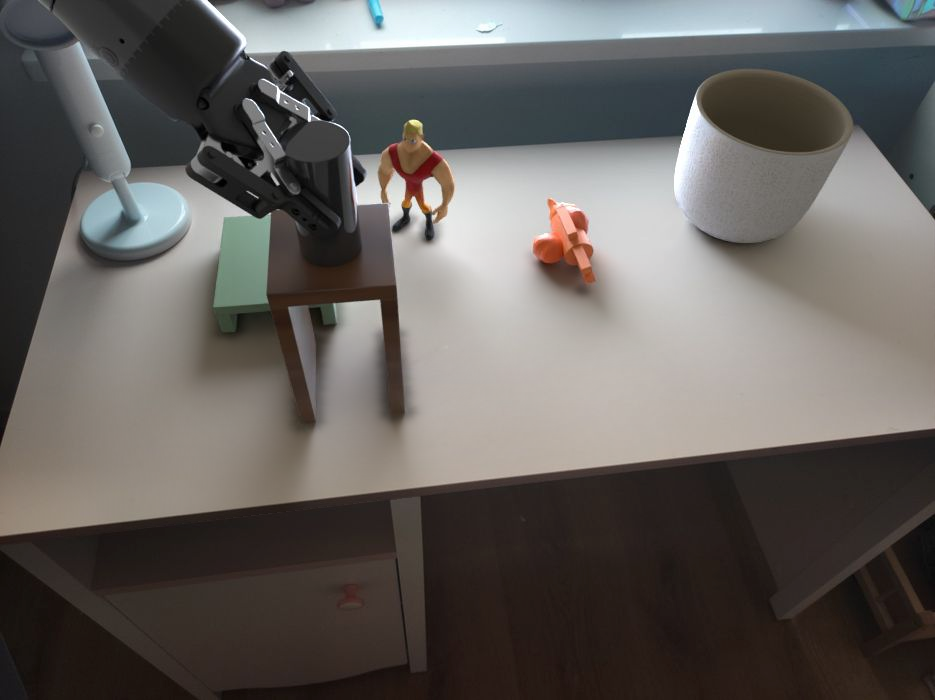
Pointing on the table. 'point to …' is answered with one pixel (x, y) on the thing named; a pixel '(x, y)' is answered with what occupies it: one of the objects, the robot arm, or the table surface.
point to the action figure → (416, 174)
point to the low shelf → (247, 272)
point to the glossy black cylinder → (325, 187)
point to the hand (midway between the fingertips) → (346, 205)
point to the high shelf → (331, 299)
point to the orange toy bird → (566, 239)
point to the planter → (757, 153)
